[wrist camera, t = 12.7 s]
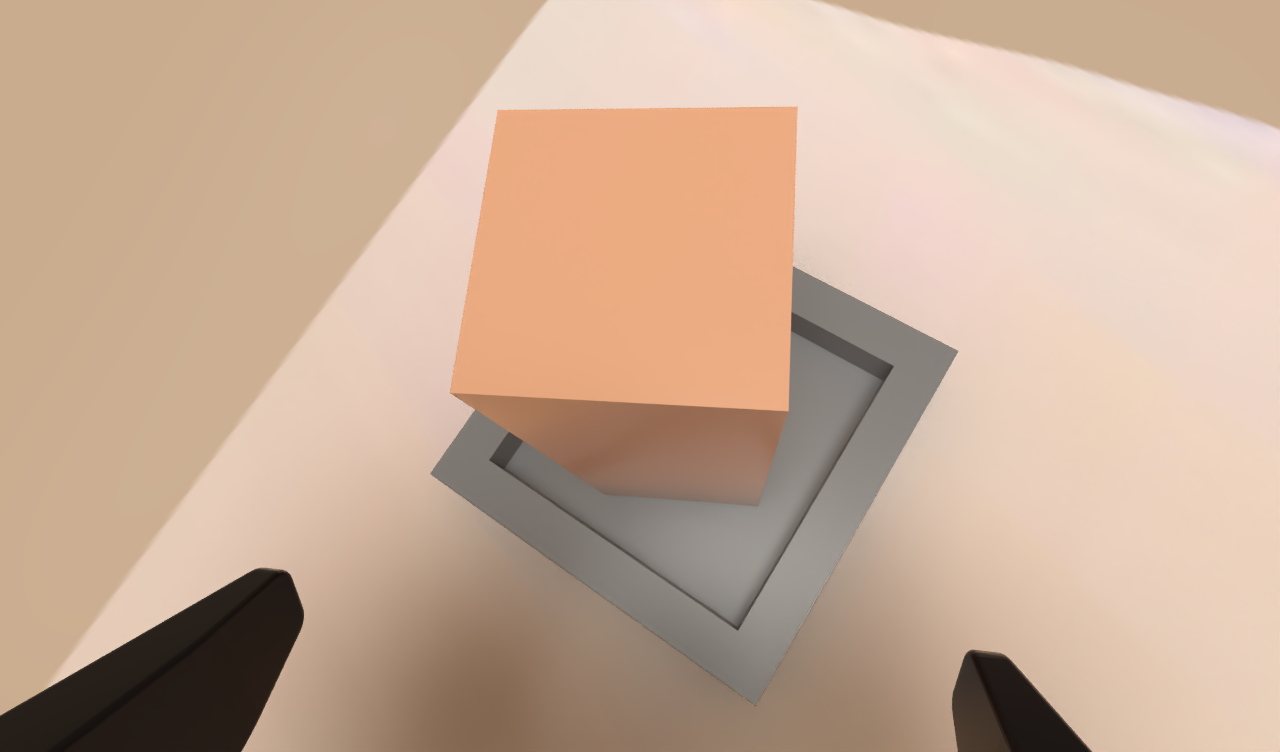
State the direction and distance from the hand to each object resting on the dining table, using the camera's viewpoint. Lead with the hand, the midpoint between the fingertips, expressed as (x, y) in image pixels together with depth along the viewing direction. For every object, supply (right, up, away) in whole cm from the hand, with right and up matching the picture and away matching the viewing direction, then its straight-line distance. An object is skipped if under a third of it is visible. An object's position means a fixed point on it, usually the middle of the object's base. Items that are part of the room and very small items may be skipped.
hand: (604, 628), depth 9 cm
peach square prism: (+2, +2, +14) cm, 14 cm away
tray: (+2, +2, +14) cm, 15 cm away
